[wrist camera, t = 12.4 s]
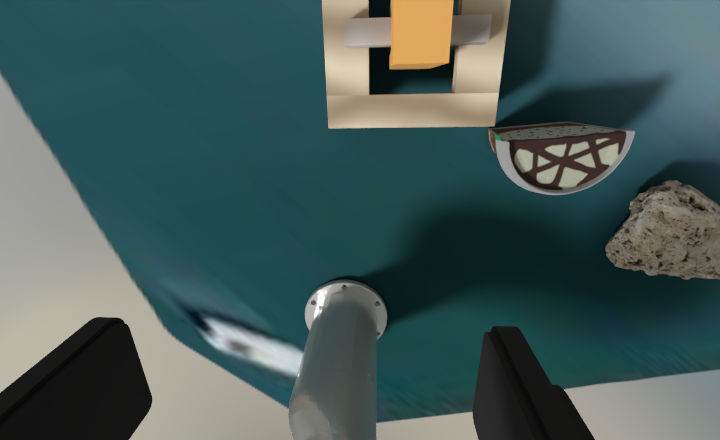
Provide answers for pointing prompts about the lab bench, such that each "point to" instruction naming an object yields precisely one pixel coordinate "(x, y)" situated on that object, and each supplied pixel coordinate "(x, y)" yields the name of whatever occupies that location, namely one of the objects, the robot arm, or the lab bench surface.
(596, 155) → the food container
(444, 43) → the tall wooden brick
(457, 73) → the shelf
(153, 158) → the lab bench surface
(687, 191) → the pumice stone
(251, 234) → the lab bench surface
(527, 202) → the lab bench surface
